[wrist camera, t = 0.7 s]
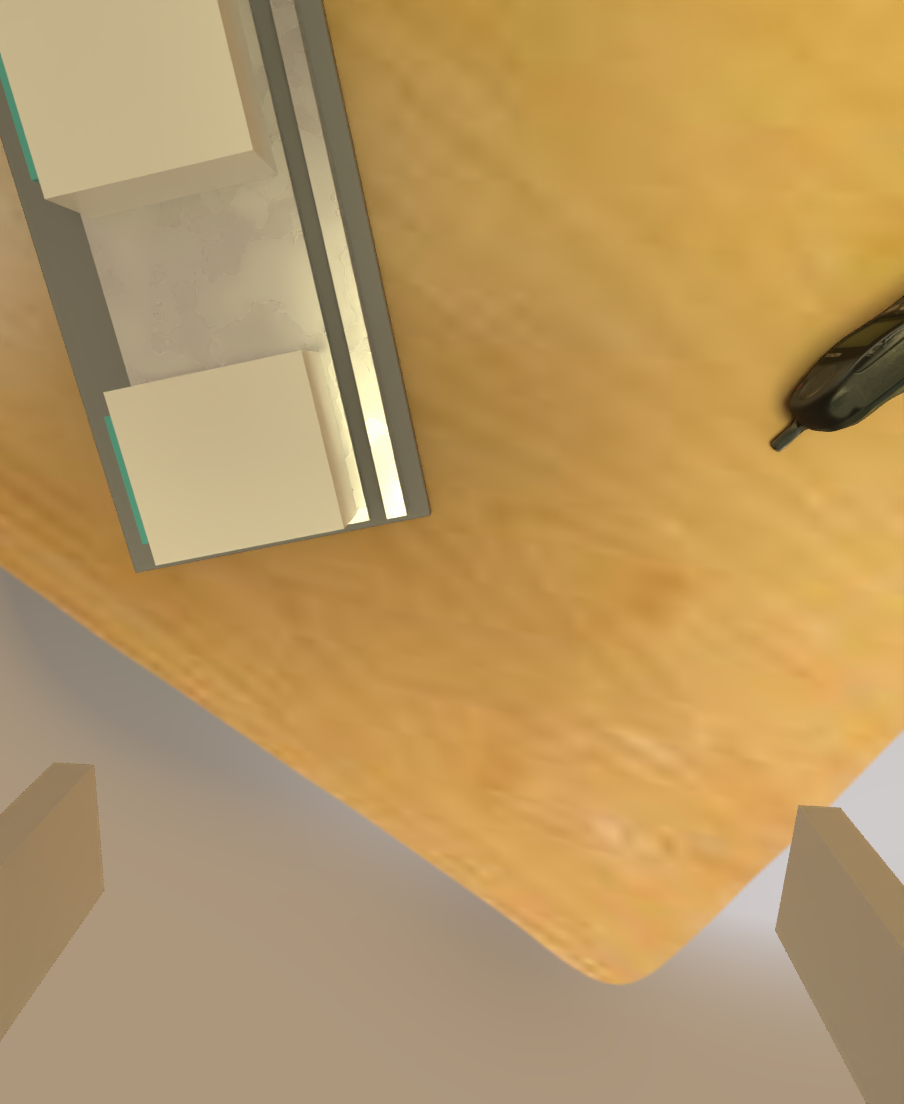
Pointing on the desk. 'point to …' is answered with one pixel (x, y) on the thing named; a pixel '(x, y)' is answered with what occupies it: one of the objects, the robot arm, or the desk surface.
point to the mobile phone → (851, 378)
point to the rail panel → (210, 268)
